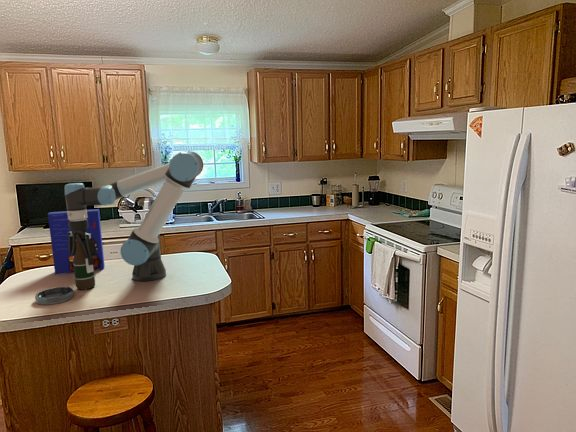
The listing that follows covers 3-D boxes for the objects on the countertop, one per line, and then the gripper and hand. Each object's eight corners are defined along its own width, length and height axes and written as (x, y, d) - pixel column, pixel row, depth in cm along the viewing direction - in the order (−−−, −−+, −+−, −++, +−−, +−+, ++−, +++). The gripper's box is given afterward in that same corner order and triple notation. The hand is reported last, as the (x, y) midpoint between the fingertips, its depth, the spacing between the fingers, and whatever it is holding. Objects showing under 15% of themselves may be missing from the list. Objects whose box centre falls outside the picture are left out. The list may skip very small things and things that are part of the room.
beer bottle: (94, 288, 183) (88, 234, 179) (74, 290, 181) (67, 236, 177) (96, 282, 191) (90, 230, 186) (77, 285, 188) (71, 232, 184)
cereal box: (104, 266, 219) (98, 208, 213) (103, 269, 213) (97, 210, 208) (57, 271, 211) (50, 211, 206) (55, 274, 206) (47, 213, 201)
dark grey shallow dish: (80, 293, 178) (79, 287, 178) (58, 305, 165) (57, 298, 165) (51, 292, 180) (51, 286, 180) (28, 304, 168) (27, 297, 167)
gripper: (54, 219, 182) (61, 270, 186) (85, 222, 172) (91, 276, 176) (70, 216, 189) (76, 265, 193) (101, 219, 179) (107, 271, 183)
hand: (84, 270), depth 185 cm, fingers closed on beer bottle, 8 cm apart
